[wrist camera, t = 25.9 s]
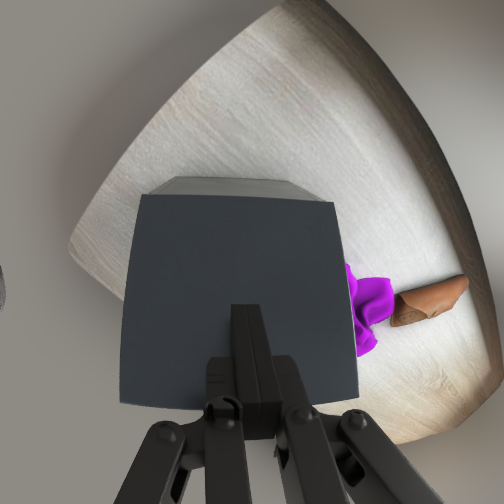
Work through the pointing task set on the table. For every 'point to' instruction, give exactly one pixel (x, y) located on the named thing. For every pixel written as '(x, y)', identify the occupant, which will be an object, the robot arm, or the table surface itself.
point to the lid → (234, 294)
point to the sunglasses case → (427, 301)
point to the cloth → (369, 307)
